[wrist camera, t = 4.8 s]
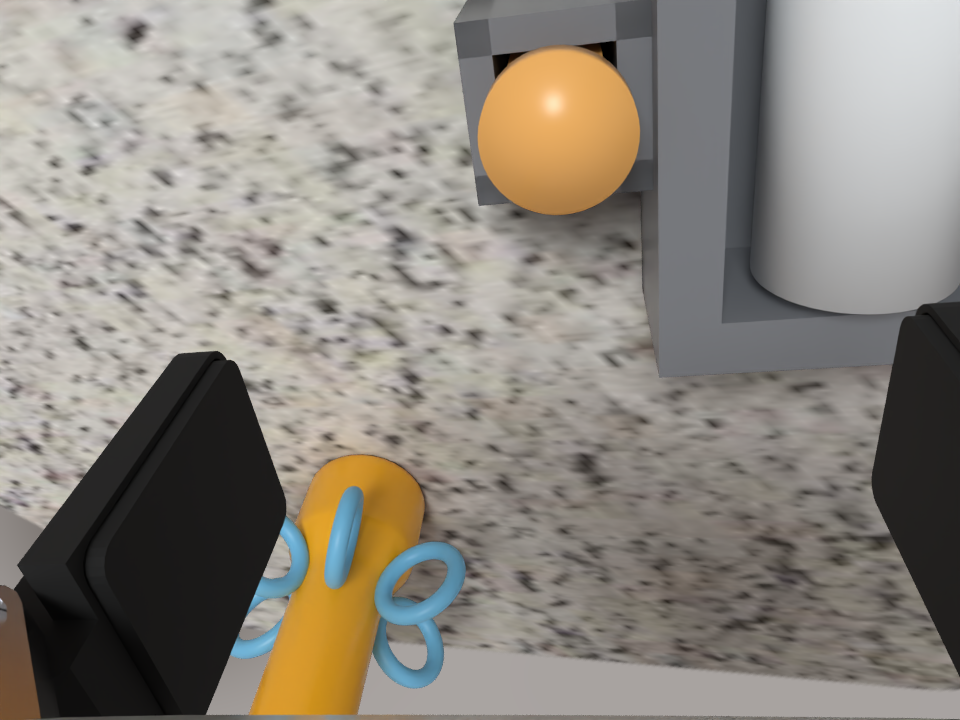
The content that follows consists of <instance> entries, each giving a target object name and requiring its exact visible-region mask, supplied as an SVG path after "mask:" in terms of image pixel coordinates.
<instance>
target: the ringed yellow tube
mask: <svg viewBox="0 0 960 720" xmlns="http://www.w3.org/2000/svg"><path fill="white" fill-rule="evenodd" d="M424 510H425V502H424V497H423V493H422V491H421V489H420V487H419V485H418V483H417V482H416V481H415V479H414V478H413V477H412V476H411V475H410V474H409V473H408V472H407V471H406V470H405V469H403V468H402V467H400V466H398V465H397V464H395V463H393V462H391V461H388V460H386V459H383V458H380V457H375V456H371V455H348V456H344V457H339V458H337V459H335V460H332V461H330V462H329V463H327V464H326V465H324V466H323V467H322V468H321V469H320V470H319V471H318V472H317V473H316V474H315V476H314V478H313V479H312V482H311V484H310V486H309V489H308V491H307V494H306V497H305V499H304V502H303V504H302V507H301V509H300V512H299V514H298V517H297V520H296V522H295V524H294V522H293V521H292V520H291V519H289V518H288V517H287V516H286V517H285V521H284V524H283V527H282V529H281V531H280V535H281V536H282V537H283V538H284V540H285V541H286V543H287V545H288V547H289V555H290V560H291V568H290V570H289V572H288V573H287V575H286V576H284V577H281V578H275V579H269V578H266V577H263V576H262V578H261V580H260V583H259V585H258V588H257V590H256V593H255V595H254V598H253V600H252V603H251V605H250V607H249V610H248V612H247V615H248V614H249V613H250V612H251V611H252V609H254V608H255V607H256V606H257V605H258V604H259V603H261V602H262V601H264V600H266V599H267V598H281V597H284V596H287V595H288V596H289V602H288V605H287V608H286V611H285V614H284V616H283V617H282V619H281V620H280V621H279V622H278V623H277V624H276V625H275V626H274V627H273V628H272V629H271V630H269V631H268V632H266V633H265V634H263V635H262V636H260V637H258V638H255V639H252V640H242V639H240V637H239V634H238V637H237V639H236V642H235V644H234V647H233V649H232V652H231V654H230V655H232V656H233V657H236V658H241V659H248V658H254V657H258V656H261V655H263V654H265V653H267V652H269V651H271V653H270V656H269V659H268V662H267V664H266V667H265V670H264V673H263V676H262V679H261V681H260V684H259V687H258V690H257V693H256V695H255V698H254V701H253V704H252V706H251V709H250V712H249V715H357V714H358V710H359V706H360V701H361V697H362V693H363V689H364V684H365V680H366V676H367V671H368V667H369V663H370V659H371V655H372V652H373V654H374V657H375V659H376V661H377V663H378V664H379V666H380V667H381V669H382V670H383V671H384V672H385V674H386V675H387V676H388V677H389V678H391V679H392V680H393V681H394V682H397V683H398V684H400V685H402V686H404V687H408V688H422V687H425V686H427V685H429V684H430V683H432V682H433V681H434V680H435V679H436V678H437V676H438V675H439V673H440V671H441V668H442V665H443V659H444V648H443V642H442V638H441V635H440V632H439V629H438V627H437V625H436V623H435V622H434V620H433V619H432V618H433V617H435V616H436V615H438V614H439V613H441V612H442V611H443V610H444V609H446V608H447V607H448V606H449V605H450V604H451V603H452V601H453V600H454V599H455V598H456V596H457V595H458V593H459V591H460V590H461V588H462V585H463V582H464V579H465V572H466V568H465V562H464V559H463V557H462V555H461V553H460V552H459V551H458V550H457V549H456V548H455V547H453V546H452V545H450V544H447V543H444V542H426V543H422V544H419V545H418V541H419V536H420V531H421V526H422V521H423V516H424ZM431 559H438V560H442V561H444V562H445V563H446V565H447V568H448V572H447V576H446V578H445V580H444V582H443V584H442V585H441V587H440V588H439V589H438V590H437V591H436V592H435V593H434V594H433V595H432V596H430V597H429V598H427V599H426V600H424V601H422V602H420V603H416V602H414V601H412V600H410V599H408V598H404V597H392V596H393V595H394V594H395V593H396V592H397V591H398V590H399V589H400V588H401V587H402V586H403V585H404V584H405V582H406V581H407V579H408V578H409V576H410V574H411V572H412V568H413V566H414V565H416V564H418V563H420V562H423V561H426V560H431ZM247 615H246V616H247ZM245 618H246V617H245ZM387 621H388V622H390V623H393V624H396V625H415V624H416V625H417V626H418V627H419V629H420V630H421V632H422V634H423V636H424V638H425V641H426V645H427V650H428V651H427V652H428V655H427V661H426V664H425V665H424V667H423V668H421V669H419V670H412V669H409V668H407V667H405V666H404V665H403V664H402V663H400V662H399V661H398V660H397V658H396V657H395V656H394V654H393V653H392V651H391V649H390V647H389V644H388V641H387V637H386V624H387Z"/></svg>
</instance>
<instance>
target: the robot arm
mask: <svg viewBox="0 0 960 720" xmlns="http://www.w3.org/2000/svg"><path fill="white" fill-rule="evenodd" d="M872 490H873V495H874V499H875V501H876V504H877V506H878V508H879V510H880V512H881V514H882V516H883V519H884V521H885V523H886V525H887V527H888V529H889V531H890V533H891V535H892V537H893V539H894V541H895V543H896V545H897V548H898V550H899V552H900V554H901V556H902V558H903V560H904V562H905V564H906V566H907V568H908V570H909V572H910V575H911V577H912V579H913V581H914V583H915V585H916V587H917V589H918V591H919V593H920V595H921V597H922V599H923V601H924V604H925V606H926V608H927V610H928V612H929V614H930V616H931V618H932V620H933V622H934V624H935V626H936V628H937V631H938V633H939V635H940V637H941V639H942V641H943V643H944V645H945V647H946V649H947V651H948V653H949V655H950V657H951V660H952V662H953V664H954V666H955V668H956V670H957V672H958V674H959V676H960V301H959V302H944V303H929V304H923V305H921V306H920V307H919V308H918V310H917V311H916V314H915V316H906V317H905V318H904V319H903V320H902V322H901V326H900V329H899V335H898V340H897V345H896V351H895V356H894V361H893V366H892V372H891V377H890V382H889V387H888V393H887V398H886V403H885V408H884V414H883V419H882V424H881V430H880V435H879V440H878V445H877V451H876V456H875V461H874V466H873V472H872ZM285 517H286V499H285V496H284V493H283V490H282V487H281V484H280V482H279V479H278V476H277V473H276V470H275V468H274V465H273V462H272V459H271V456H270V454H269V451H268V448H267V445H266V442H265V440H264V437H263V434H262V431H261V428H260V426H259V423H258V420H257V417H256V414H255V412H254V409H253V406H252V403H251V400H250V398H249V395H248V392H247V389H246V386H245V384H244V381H243V378H242V375H241V373H240V370H239V368H238V366H237V364H236V363H235V362H234V361H232V360H226V358H225V357H224V355H223V354H222V353H220V352H218V351H210V352H195V353H182V354H178V355H177V356H175V357H174V358H173V360H172V361H171V362H170V364H169V365H168V366H167V368H166V369H165V370H164V371H163V373H162V374H161V375H160V377H159V378H158V379H157V381H156V382H155V383H154V385H153V386H152V387H151V389H150V390H149V391H148V393H147V394H146V395H145V397H144V398H143V399H142V401H141V402H140V403H139V405H138V406H137V407H136V409H135V410H134V411H133V413H132V414H131V415H130V417H129V418H128V419H127V420H126V422H125V423H124V424H123V426H122V427H121V428H120V430H119V431H118V432H117V434H116V435H115V436H114V438H113V439H112V440H111V442H110V443H109V444H108V446H107V447H106V448H105V450H104V451H103V452H102V454H101V455H100V456H99V458H98V459H97V460H96V462H95V463H94V464H93V465H92V467H91V468H90V469H89V471H88V472H87V473H86V475H85V476H84V477H83V479H82V480H81V481H80V483H79V484H78V485H77V487H76V488H75V489H74V491H73V492H72V493H71V495H70V496H69V497H68V499H67V500H66V501H65V503H64V504H63V505H62V507H61V508H60V509H59V510H58V512H57V513H56V514H55V516H54V517H53V518H52V520H51V521H50V522H49V524H48V525H47V526H46V528H45V529H44V530H43V532H42V533H41V534H40V536H39V537H38V538H37V540H36V541H35V542H34V544H33V545H32V546H31V548H30V549H29V550H28V552H27V553H26V554H25V556H24V557H23V558H22V559H21V561H20V562H19V564H18V565H17V566H18V567H19V569H20V570H21V572H22V573H23V575H24V576H23V578H22V579H21V580H20V582H19V583H18V584H17V586H16V587H15V588H14V590H13V589H11V588H9V587H7V586H5V585H0V720H959V719H921V718H918V719H917V718H839V717H833V718H832V717H730V716H726V717H725V716H593V715H587V716H586V715H585V716H584V715H206V713H207V710H208V708H209V705H210V703H211V700H212V698H213V696H214V693H215V690H216V688H217V686H218V683H219V681H220V678H221V676H222V673H223V671H224V669H225V666H226V664H227V661H228V659H229V656H230V654H231V652H232V649H233V647H234V644H235V642H236V639H237V637H238V634H239V632H240V629H241V627H242V625H243V622H244V620H245V617H246V615H247V612H248V610H249V607H250V605H251V603H252V600H253V598H254V595H255V593H256V590H257V588H258V585H259V583H260V580H261V578H262V576H263V573H264V571H265V568H266V566H267V563H268V561H269V558H270V556H271V553H272V551H273V549H274V546H275V544H276V541H277V539H278V536H279V534H280V531H281V529H282V527H283V524H284V521H285Z"/></svg>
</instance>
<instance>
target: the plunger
mask: <svg viewBox="0 0 960 720" xmlns="http://www.w3.org/2000/svg"><path fill="white" fill-rule="evenodd" d="M639 142H640V124H639V117H638V113H637V109H636V105H635V102H634V99H633V96H632V93H631V90H630V88H629V86H628V84H627V82H626V81H625V79H624V77H623V76H622V75H621V73H620V72H619V71H618V70H617V69H616V68H615V67H614V66H613V65H612V64H611V63H610V62H609V61H608V60H606V59H605V58H604V57H603V55H602V50H601V45H600V43H592V44H583V45H575V46H573V45H550V46H545V47H540V48H537V49H534V50H531V51H524V52H516V53H511V54H510V58H509V62H508V66H507V67H505V68H504V70H503V71H502V72H501V73H500V74H499V75H498V76H497V78H496V79H495V81H494V82H493V84H492V86H491V88H490V90H489V92H488V94H487V97H486V99H485V102H484V106H483V109H482V112H481V116H480V121H479V126H478V148H479V153H480V158H481V161H482V164H483V167H484V169H485V171H486V173H487V175H488V177H489V178H490V180H491V181H492V183H493V184H494V185H495V187H496V188H497V189H498V190H499V191H500V192H501V193H502V194H503V195H504V196H505V197H507V198H508V199H509V200H511V201H512V202H514V203H515V204H517V205H519V206H521V207H523V208H525V209H527V210H530V211H533V212H537V213H541V214H549V215H565V214H572V213H576V212H580V211H583V210H586V209H588V208H591V207H593V206H595V205H597V204H598V203H600V202H602V201H603V200H605V199H606V198H607V197H609V196H610V195H611V194H612V193H613V192H614V191H615V190H617V189H618V187H619V186H620V185H621V184H622V183H623V181H624V180H625V179H626V177H627V175H628V174H629V172H630V170H631V168H632V166H633V164H634V162H635V159H636V156H637V153H638V147H639Z"/></svg>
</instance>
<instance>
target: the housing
mask: <svg viewBox="0 0 960 720" xmlns="http://www.w3.org/2000/svg"><path fill="white" fill-rule="evenodd" d="M766 8H767V0H467V2H466V3H465V5H464V7H463V8H462V10H461V12H460V13H459V15H458V16H457V18H456V20H455V21H454V30H455V37H456V45H457V52H458V59H459V66H460V74H461V81H462V88H463V95H464V103H465V110H466V117H467V124H468V132H469V139H470V146H471V153H472V161H473V168H474V175H475V182H476V190H477V197H478V204H479V206H482V205H493V204H504V203H514V202H512V201H511V200H509V199H508V198H507V197H505V196H504V195H503V194H502V193H501V192H500V191H499V190H498V189H497V188H496V187H495V185H494V184H493V183H492V181H491V180H490V178H489V177H488V175H487V173H486V171H485V169H484V167H483V164H482V161H481V158H480V153H479V148H478V126H479V121H480V116H481V112H482V109H483V106H484V102H485V99H486V97H487V94H488V92H489V90H490V88H491V86H492V84H493V82H494V81H495V79H496V78H497V76H498V75H499V74H500V73H501V72H502V71H503V70H504V68H505V67H507V61H506V54H507V53H516V52H524V51H531V50H534V49H537V48H540V47H545V46H550V45H573V46H575V45H583V44H592V43H600V42H609V62H610V63H611V64H612V65H613V66H614V67H615V68H616V69H617V70H618V71H619V72H620V73H621V75H622V76H623V77H624V79H625V81H626V82H627V84H628V86H629V88H630V90H631V93H632V96H633V99H634V102H635V105H636V109H637V113H638V117H639V124H640V142H639V147H638V153H637V156H636V159H635V162H634V164H633V166H632V168H631V170H630V172H629V174H628V175H627V177H626V179H625V180H624V181H623V183H622V184H621V185H620V186H619V187H618V189H617V190H615V191H614V192H613V193H612V194H614V193H625V192H636V191H641V233H642V288H643V294H644V299H645V304H646V309H647V315H648V320H649V325H650V331H651V336H652V341H653V347H654V352H655V357H656V363H657V368H658V373H659V378H660V377H678V376H696V375H713V374H731V373H749V372H766V371H784V370H802V369H819V368H837V367H855V366H872V365H890V364H893V361H894V356H895V351H896V345H897V340H898V335H899V329H900V326H901V322H902V320H903V319H904V318H905V317H906V316H915V314H916V311H917V310H918V309H915V310H910V311H905V312H899V313H889V314H848V313H837V312H830V311H824V310H819V309H814V308H810V307H806V306H803V305H799V304H796V303H793V302H790V301H788V300H785V299H783V298H781V297H779V296H777V295H775V294H773V293H771V292H770V291H768V290H766V289H765V288H764V287H763V286H761V285H760V284H759V283H758V282H757V281H756V280H755V278H754V277H753V275H752V273H751V270H750V254H751V239H752V224H753V208H754V193H755V177H756V162H757V147H758V131H759V116H760V100H761V85H762V70H763V54H764V39H765V23H766ZM959 301H960V284H959V286H958V288H957V289H956V290H955V291H954V292H953V293H952V294H951V295H949V296H948V297H946V298H945V299H943V300H941V301H939V302H937V303H944V302H959Z"/></svg>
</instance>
